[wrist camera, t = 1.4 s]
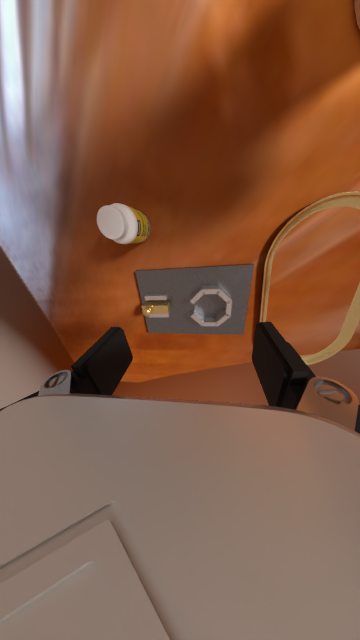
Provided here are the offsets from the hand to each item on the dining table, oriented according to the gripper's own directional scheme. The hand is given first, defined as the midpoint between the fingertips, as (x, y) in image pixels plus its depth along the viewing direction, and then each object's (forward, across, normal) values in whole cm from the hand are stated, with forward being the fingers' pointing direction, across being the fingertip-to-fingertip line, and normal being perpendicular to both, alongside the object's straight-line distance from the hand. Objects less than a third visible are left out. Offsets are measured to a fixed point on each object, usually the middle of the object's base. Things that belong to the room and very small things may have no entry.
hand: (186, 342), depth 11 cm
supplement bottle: (+24, +11, -10) cm, 28 cm away
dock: (+24, +2, +7) cm, 25 cm away
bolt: (+23, +10, +6) cm, 26 cm away
